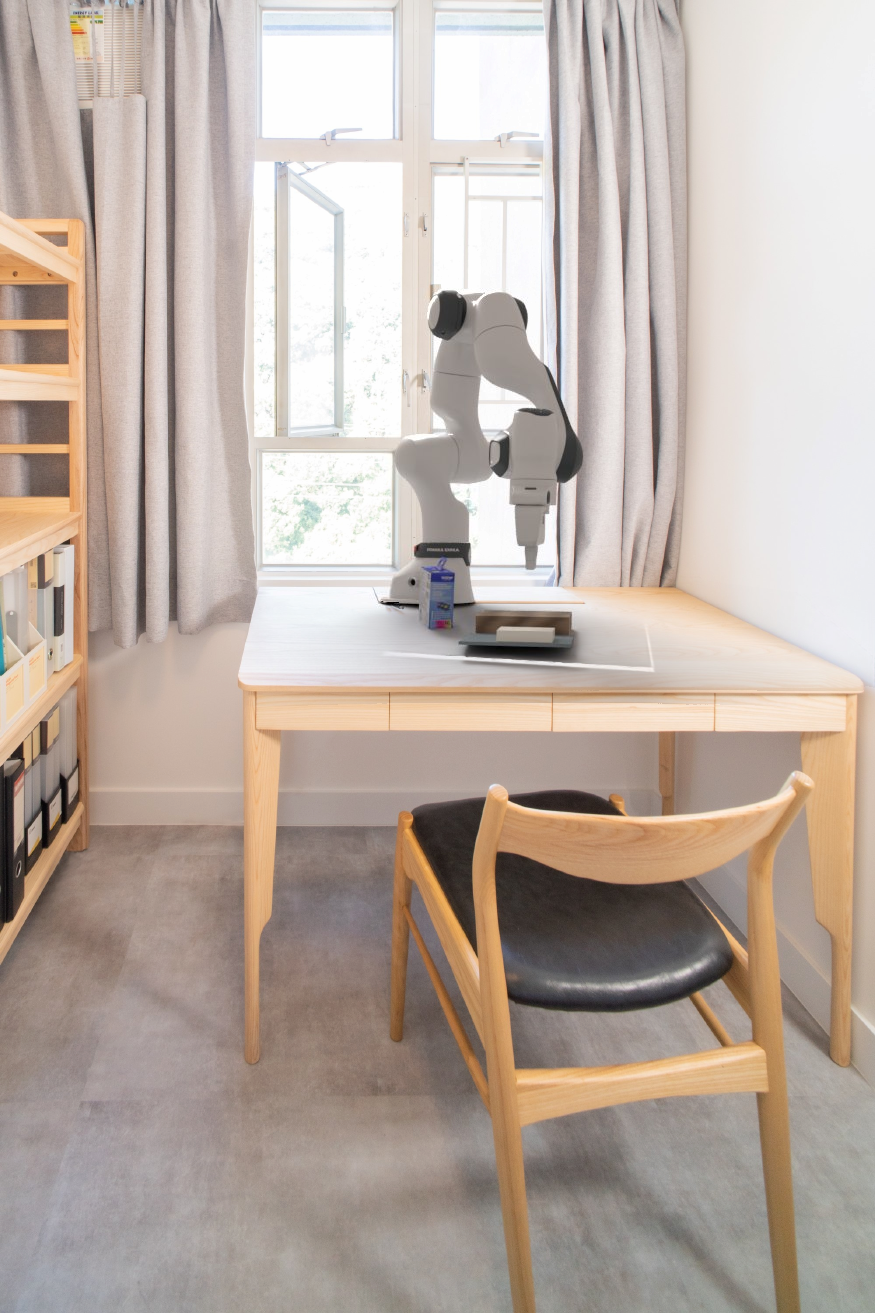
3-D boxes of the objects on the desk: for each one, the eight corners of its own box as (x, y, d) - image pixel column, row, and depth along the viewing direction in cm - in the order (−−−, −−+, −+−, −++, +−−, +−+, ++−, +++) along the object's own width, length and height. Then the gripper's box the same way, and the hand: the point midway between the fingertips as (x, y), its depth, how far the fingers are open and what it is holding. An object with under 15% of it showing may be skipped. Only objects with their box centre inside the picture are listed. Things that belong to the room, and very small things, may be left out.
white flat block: (500, 626, 177) (500, 637, 177) (496, 630, 170) (496, 641, 170) (554, 627, 175) (554, 638, 175) (552, 631, 168) (552, 642, 168)
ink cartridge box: (454, 631, 194) (456, 561, 190) (428, 632, 192) (429, 561, 189) (443, 622, 203) (444, 554, 200) (417, 622, 202) (418, 554, 198)
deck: (475, 636, 184) (475, 615, 184) (484, 628, 198) (484, 609, 197) (568, 638, 181) (569, 617, 181) (571, 631, 195) (571, 611, 194)
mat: (458, 644, 170) (458, 641, 170) (470, 635, 184) (470, 632, 184) (570, 647, 166) (570, 644, 166) (573, 638, 181) (574, 635, 181)
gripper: (521, 496, 189) (519, 566, 191) (510, 494, 169) (508, 571, 171) (553, 497, 188) (550, 567, 190) (546, 494, 168) (543, 572, 170)
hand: (530, 569), depth 180 cm, fingers closed
